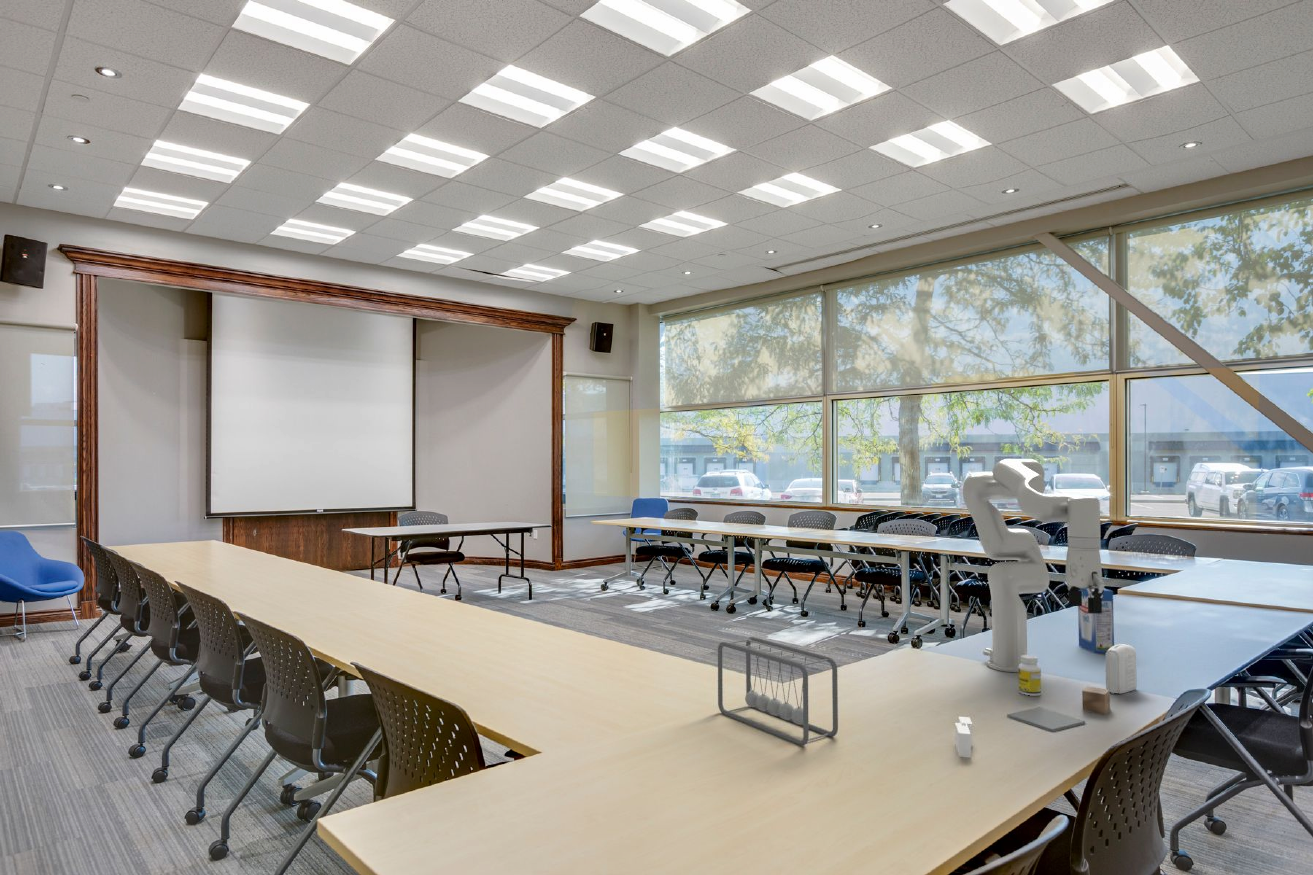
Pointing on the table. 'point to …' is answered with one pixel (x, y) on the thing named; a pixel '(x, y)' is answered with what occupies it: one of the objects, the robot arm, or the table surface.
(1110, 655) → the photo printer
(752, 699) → the newton's cradle
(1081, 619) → the milk carton
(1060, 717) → the slate coaster
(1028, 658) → the supplement bottle
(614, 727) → the table surface
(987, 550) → the robot arm
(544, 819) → the table surface
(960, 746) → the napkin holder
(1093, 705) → the walnut block
